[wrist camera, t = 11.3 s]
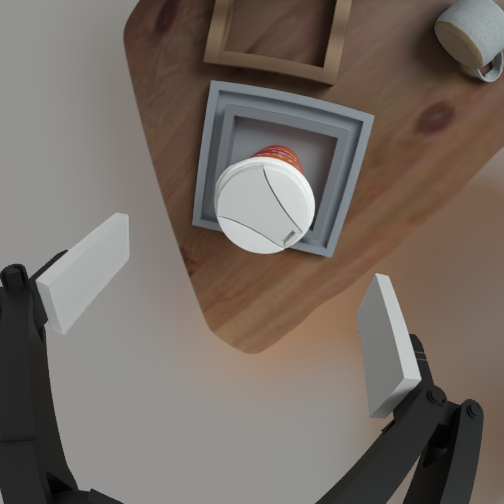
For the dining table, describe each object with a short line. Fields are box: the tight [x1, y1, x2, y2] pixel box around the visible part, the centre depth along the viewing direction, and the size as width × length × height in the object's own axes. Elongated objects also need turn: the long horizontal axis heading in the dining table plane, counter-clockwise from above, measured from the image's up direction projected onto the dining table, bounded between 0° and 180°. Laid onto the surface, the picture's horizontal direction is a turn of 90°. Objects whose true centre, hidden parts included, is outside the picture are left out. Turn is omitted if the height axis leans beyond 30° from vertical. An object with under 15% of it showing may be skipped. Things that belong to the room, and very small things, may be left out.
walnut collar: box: [203, 0, 352, 86], centre depth 24 cm, size 14×14×2 cm
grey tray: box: [192, 80, 374, 258], centre depth 33 cm, size 18×18×3 cm
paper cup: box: [214, 145, 315, 254], centre depth 27 cm, size 8×8×14 cm
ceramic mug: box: [434, 0, 504, 82], centre depth 18 cm, size 11×8×8 cm
